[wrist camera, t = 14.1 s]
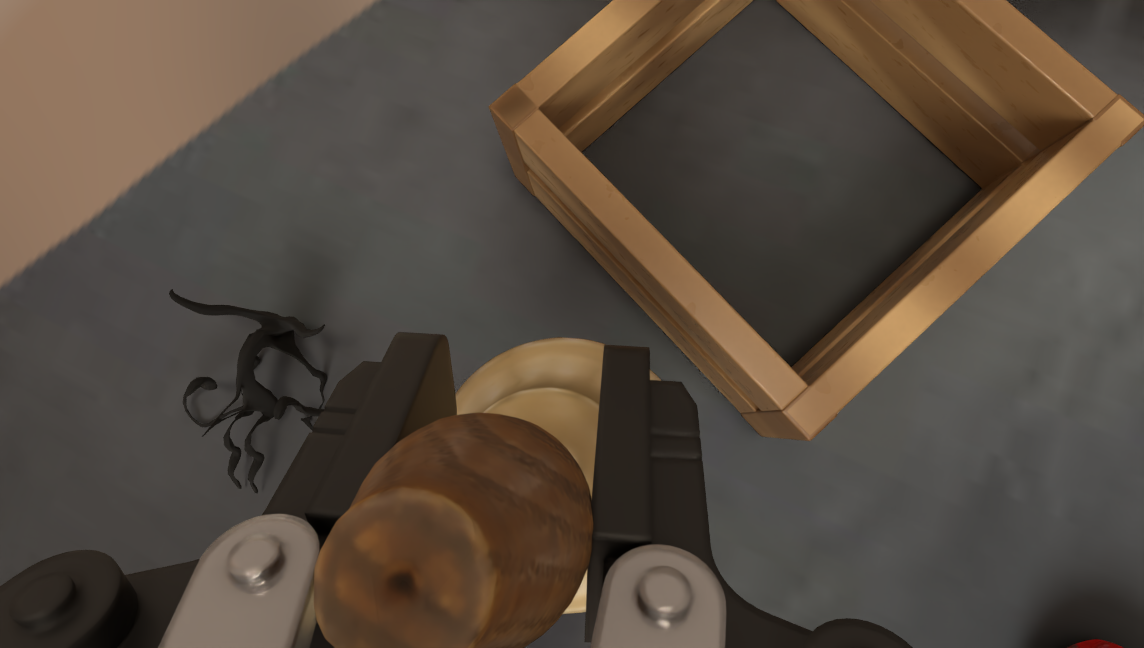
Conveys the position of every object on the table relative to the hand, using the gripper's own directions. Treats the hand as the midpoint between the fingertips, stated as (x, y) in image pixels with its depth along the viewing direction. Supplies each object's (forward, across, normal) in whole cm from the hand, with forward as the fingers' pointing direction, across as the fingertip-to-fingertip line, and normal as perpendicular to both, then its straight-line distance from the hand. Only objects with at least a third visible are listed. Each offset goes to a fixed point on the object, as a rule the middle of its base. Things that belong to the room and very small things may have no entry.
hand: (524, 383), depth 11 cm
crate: (+19, -8, +5) cm, 21 cm away
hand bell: (+6, 0, +9) cm, 10 cm away
